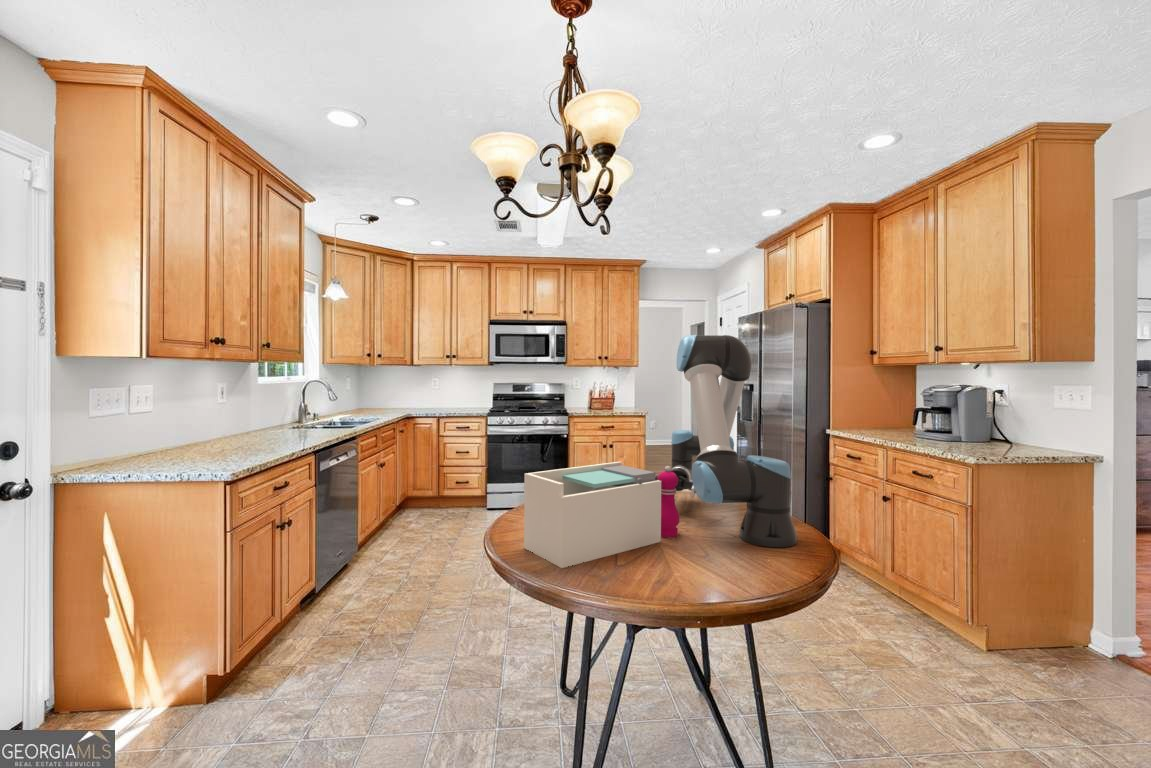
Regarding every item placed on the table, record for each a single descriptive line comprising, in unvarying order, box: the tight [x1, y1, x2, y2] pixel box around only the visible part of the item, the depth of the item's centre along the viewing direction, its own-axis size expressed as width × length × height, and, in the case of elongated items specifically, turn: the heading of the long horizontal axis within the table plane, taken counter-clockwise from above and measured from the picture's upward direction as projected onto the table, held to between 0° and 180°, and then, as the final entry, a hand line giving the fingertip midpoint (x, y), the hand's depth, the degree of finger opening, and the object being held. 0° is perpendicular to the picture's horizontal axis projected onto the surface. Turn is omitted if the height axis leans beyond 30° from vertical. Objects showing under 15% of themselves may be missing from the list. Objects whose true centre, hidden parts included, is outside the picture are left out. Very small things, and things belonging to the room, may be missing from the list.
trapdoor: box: [563, 464, 656, 488], centre depth 142 cm, size 14×22×4 cm, turn 127°
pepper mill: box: [657, 465, 681, 538], centre depth 148 cm, size 7×7×20 cm
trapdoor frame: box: [523, 461, 662, 569], centre depth 139 cm, size 19×34×20 cm, turn 127°
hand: (669, 491), depth 156 cm, fingers open, 13 cm apart
